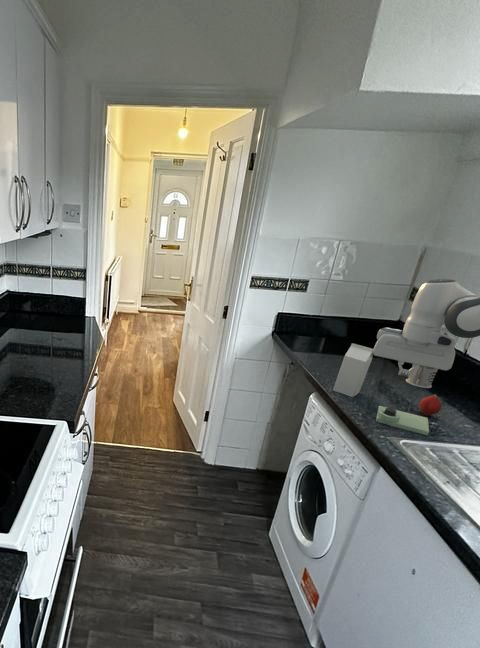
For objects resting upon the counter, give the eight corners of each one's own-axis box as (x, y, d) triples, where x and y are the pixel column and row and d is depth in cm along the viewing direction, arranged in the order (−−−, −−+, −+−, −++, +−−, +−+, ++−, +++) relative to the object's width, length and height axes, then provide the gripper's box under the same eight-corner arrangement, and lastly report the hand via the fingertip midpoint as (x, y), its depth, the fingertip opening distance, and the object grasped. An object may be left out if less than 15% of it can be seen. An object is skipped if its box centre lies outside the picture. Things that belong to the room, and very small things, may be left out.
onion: (415, 409, 147) (424, 389, 143) (435, 414, 144) (445, 394, 141) (415, 415, 143) (425, 394, 139) (436, 421, 140) (446, 400, 136)
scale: (426, 421, 139) (429, 413, 137) (427, 436, 129) (431, 427, 128) (377, 409, 146) (380, 401, 145) (375, 422, 136) (378, 414, 135)
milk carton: (351, 399, 153) (369, 351, 145) (332, 391, 158) (348, 345, 150) (358, 394, 157) (376, 347, 149) (339, 387, 162) (355, 341, 154)
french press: (436, 385, 169) (463, 327, 159) (427, 392, 162) (454, 331, 152) (408, 377, 176) (432, 320, 165) (399, 383, 169) (423, 324, 158)
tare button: (394, 414, 136) (396, 409, 136) (394, 417, 134) (396, 413, 133) (384, 411, 138) (385, 407, 137) (383, 414, 136) (385, 410, 135)
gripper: (379, 328, 128) (365, 369, 133) (463, 343, 117) (443, 387, 123) (380, 324, 133) (366, 364, 138) (461, 338, 122) (442, 381, 128)
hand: (403, 375), depth 130 cm, fingers closed
